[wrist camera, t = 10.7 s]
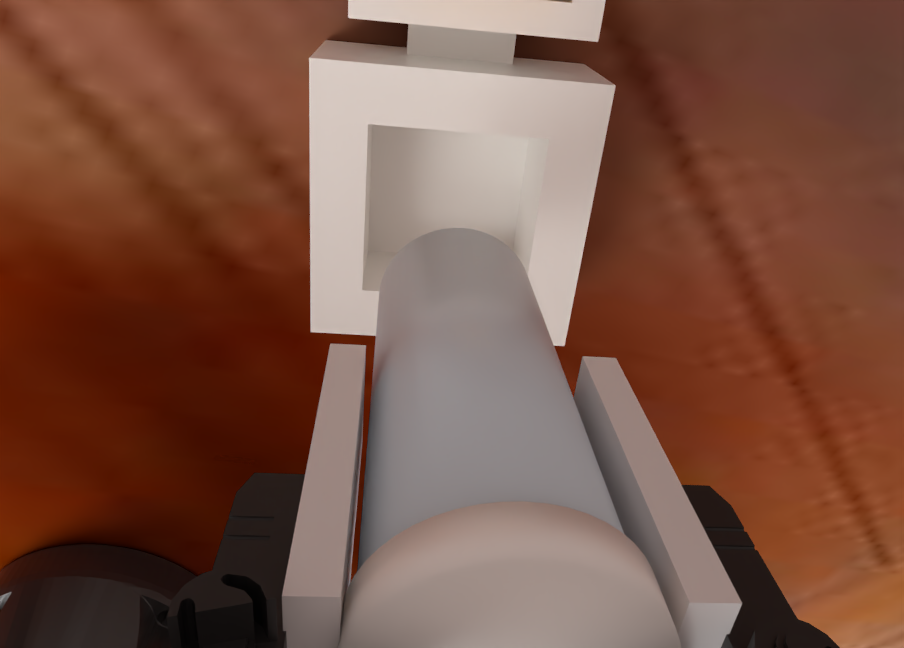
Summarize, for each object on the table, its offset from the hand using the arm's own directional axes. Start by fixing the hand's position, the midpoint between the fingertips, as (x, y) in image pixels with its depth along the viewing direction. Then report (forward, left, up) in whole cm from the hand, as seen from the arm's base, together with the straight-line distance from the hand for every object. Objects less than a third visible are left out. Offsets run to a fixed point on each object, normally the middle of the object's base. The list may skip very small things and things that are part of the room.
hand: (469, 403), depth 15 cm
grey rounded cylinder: (0, 0, -5) cm, 5 cm away
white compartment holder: (+5, 0, -17) cm, 18 cm away
